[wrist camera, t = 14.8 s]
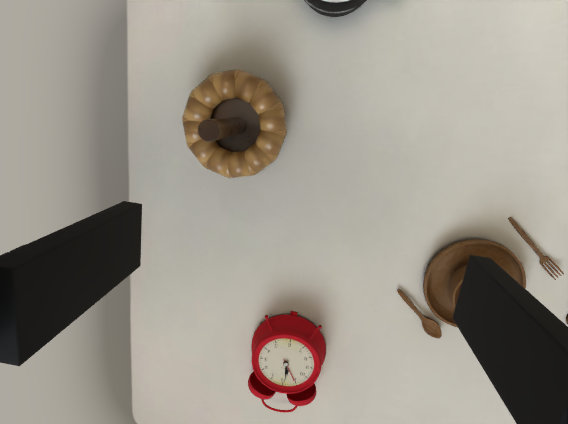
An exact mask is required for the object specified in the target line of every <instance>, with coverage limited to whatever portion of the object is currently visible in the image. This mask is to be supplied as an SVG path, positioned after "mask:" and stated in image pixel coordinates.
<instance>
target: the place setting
mask: <svg viewBox="0 0 568 424" xmlns="http://www.w3.org/2000/svg"><path fill="white" fill-rule="evenodd" d="M508 219H509V221H510V222H511V224H512V225H513V226H514V228H515V229H516V230H517V231H518V232H519V234H520V235H521V236H522V237H523V238H524V240H525V241H526V242H527V243H528V244H529V245H530V246H531V248H532V249H533V250H534V251H535V252H536V253H537V255H538V256H539V257H540V264H541V265H542V266H543V268H544V269H545V270H546V271H547V272H548V273H549V274H550V275H551V276H552V277H553V275H552V274H551V273H550V272H549V271H548V270H547V269H546V268H545V266H544V265H543V263H544V264H545V265H546V266H547V267H548V268H549V269H550V270H551V272H552V273H553V274H554V275H555V276H556V277H557V278H558V276H557V275H556V274H555V273H554V272H553V270H552V269H551V268H550V267H549V266H548V265H547V264H546V262H545V261H547V262H548V263H549V264H550V266H551V267H552V268H553V269H554V270H555V271H556V272H557V273H558V274H559V275H560V273H559V272H558V271H557V270H556V269H555V268H554V267H553V266H552V264H551V263H550V262H549V261H548V259H549V260H550V261H551V262H552V263H553V264H554V265H555V266H556V267H557V268H558V269H559V270H560V268H559V267H558V266H557V265H556V264H555V263H554V262H553V261H552V260H551V258H549V257H547V256H544V255H543V254H542V253H541V252H540V250H539V249H538V248H537V247H536V246H535V244H534V243H533V242H532V241H531V240H530V238H529V237H528V236H527V235H526V234H525V232H524V231H523V230H522V229H521V228H520V227H519V225H518V224H517V223H516V222H515V221H514V220H513V219H512V218H511V217H510V218H508ZM470 255H475V256H481V257H488V258H491V259H492V260H493V261H494V262H496V263H497V264H498V265H499V266H500V267H501V268H502V269H503V270H505V271H506V272H507V273H508V274H509V275H510V276H511V277H512V278H513V279H515V280H516V281H517V282H518V283H519V284H520V285H521V286H522V287H524V288H525V287H526V276H525V271H524V268H523V266H522V264H521V262H520V261H519V259H518V258H517V257H516V256H515V255H514V254H513V253H512V252H511V251H510V250H509V249H507V248H506V247H504V246H502V245H500V244H498V243H495V242H492V241H488V240H482V239H471V240H464V241H460V242H457V243H454V244H452V245H450V246H448V247H447V248H445V249H443V250H442V251H441V252H440V253H438V254H437V255H436V256H435V257H434V259H433V260H432V261H431V263H430V264H429V266H428V268H427V270H426V273H425V277H424V283H423V288H424V295H425V299H426V301H427V304H428V305H429V307H430V309H431V310H432V312H433V313H434V314H435V315H436V316H437V317H438V318H439V319H441V320H442V321H444V322H445V323H447V324H449V325H452V326H455V327H458V326H457V325H456V323H455V321H454V320H453V318H452V317H453V314H454V310H455V307H456V303H457V300H458V296H459V292H460V289H461V285H462V282H463V278H464V274H465V271H466V267H467V264H468V260H469V256H470ZM560 271H561V270H560ZM561 272H562V271H561ZM562 273H563V272H562ZM563 274H564V273H563ZM560 276H561V275H560ZM553 278H554V277H553ZM554 279H555V278H554ZM555 280H556V279H555ZM397 291H398V293H399V295H400V296H401V297H402V299H403V300H404V301H405V302H406V303H407V304H408V305H409V306H410V307H411V308H412V309H413V310H414V312H415V313H416V314H417V315H418V316H419V317H420V319H421V320H422V325H423V328H424V330H425V332H426V333H427V334H429V335H430V336H432V337H435V338H440V337H441V329H440V327H439V325H438V324H437V323H436V322H435V321H433V320H431V319H429V318H426V317H424V316H423V315H422V314H421V313H420V312H419V310H418V309H417V308H416V307H415V306H414V304H413V303H412V302H411V301H410V300H409V298H408V297H407V296H406V295H405V294H404V293H403V292H402V291H401V290H399V289H398V290H397ZM566 321H567V324H568V315H567V317H566Z"/></svg>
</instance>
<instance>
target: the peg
mask: <svg viewBox="0 0 568 424" xmlns="http://www.w3.org/2000/svg"><path fill="white" fill-rule="evenodd" d="M259 132H260V123H259V116H258V114H257V112H256V111H255V110H254V109H253V107H252V106H251V105H250V103H248V102H245V101H243V100H241V99H238V98H233V99H227V100H223V101H222V102H221V103H220V104H218V105H217V106H216V107H215V108H214V109H213V112H212V115H211V118H210V119H206V120H203V121H202V122H201V123H200V124H199V126H198V134H199V136H200V138H201V139H202V140H204V141H206V142H212V141H216V142H217V144H218V145H219V146H220V147H221V148H224V149H226V150H228V151H231V152H238V151H245V150H247V149H248V148H249V147H250V146H252V145H253V144H254V143H255V142H256V140H257V137H258V134H259Z"/></svg>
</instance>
